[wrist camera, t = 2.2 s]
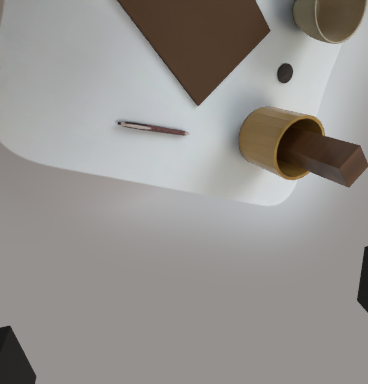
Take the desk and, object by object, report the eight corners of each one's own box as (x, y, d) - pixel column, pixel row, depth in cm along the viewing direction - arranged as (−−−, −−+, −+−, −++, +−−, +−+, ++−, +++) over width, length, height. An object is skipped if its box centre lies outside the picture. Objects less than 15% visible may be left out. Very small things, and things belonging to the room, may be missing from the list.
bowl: (336, -15, 53) (377, -23, 47) (316, 51, 56) (352, 51, 50) (291, -39, 48) (331, -52, 42) (272, 34, 51) (306, 32, 45)
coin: (293, 76, 56) (289, 60, 54) (294, 76, 56) (290, 60, 54) (280, 86, 55) (275, 69, 54) (281, 86, 55) (276, 69, 53)
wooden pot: (228, 136, 54) (263, 150, 47) (269, 93, 55) (310, 100, 47) (256, 174, 60) (291, 192, 53) (293, 135, 60) (333, 147, 53)
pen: (116, 125, 45) (118, 126, 45) (117, 119, 45) (119, 121, 44) (187, 136, 51) (190, 137, 50) (189, 131, 51) (192, 132, 50)
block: (251, 136, 56) (339, 168, 41) (267, 119, 56) (360, 145, 41) (261, 152, 58) (349, 187, 43) (277, 136, 58) (369, 165, 43)
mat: (101, -21, 39) (102, -22, 38) (195, -114, 39) (197, -116, 39) (197, 105, 50) (198, 105, 49) (268, 31, 51) (270, 30, 50)
